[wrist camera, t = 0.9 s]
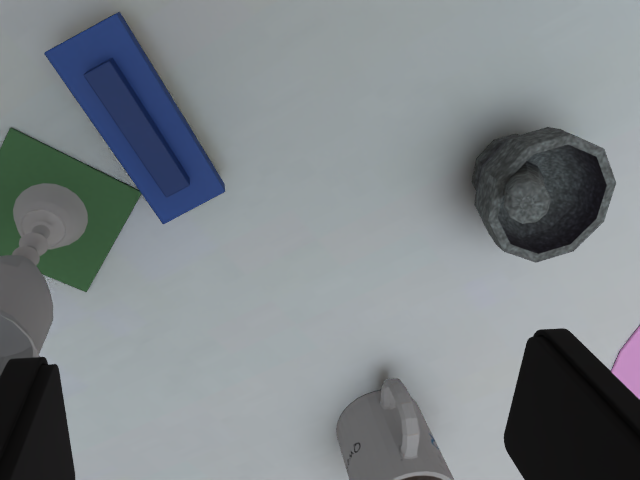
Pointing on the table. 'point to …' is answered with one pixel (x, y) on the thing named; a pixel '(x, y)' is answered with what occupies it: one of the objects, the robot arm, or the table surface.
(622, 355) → the platter
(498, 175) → the mortar and pestle
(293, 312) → the table surface
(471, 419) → the table surface
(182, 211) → the brush
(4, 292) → the chalice
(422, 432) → the mug
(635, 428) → the robot arm
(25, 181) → the green cloth
